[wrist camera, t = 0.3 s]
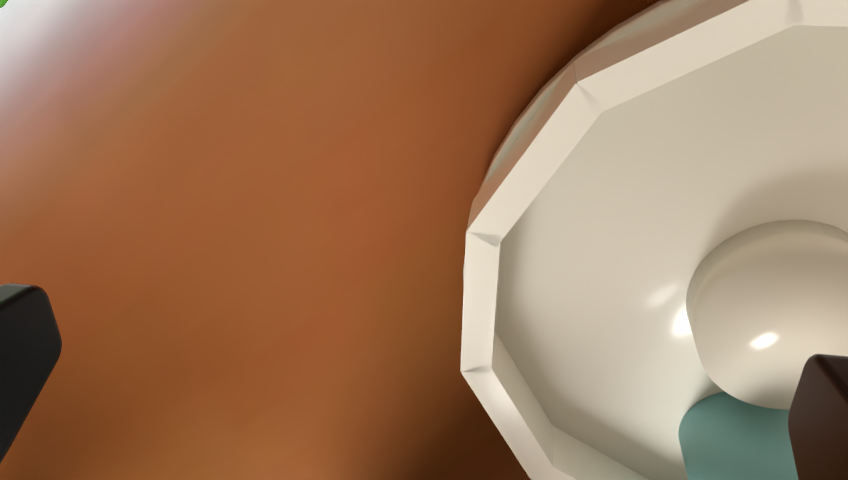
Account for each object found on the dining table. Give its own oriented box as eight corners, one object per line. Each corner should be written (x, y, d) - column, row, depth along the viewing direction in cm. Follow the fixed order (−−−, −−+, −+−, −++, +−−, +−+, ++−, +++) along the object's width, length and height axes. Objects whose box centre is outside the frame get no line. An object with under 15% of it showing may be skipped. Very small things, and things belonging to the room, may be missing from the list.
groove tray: (981, 524, 27) (1027, 597, 24) (457, 461, 29) (448, 521, 27) (1317, -34, 17) (1456, -11, 14) (479, -57, 19) (468, -40, 17)
